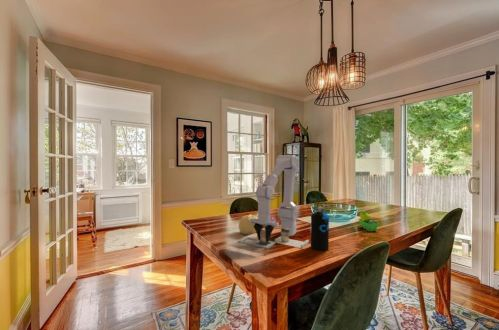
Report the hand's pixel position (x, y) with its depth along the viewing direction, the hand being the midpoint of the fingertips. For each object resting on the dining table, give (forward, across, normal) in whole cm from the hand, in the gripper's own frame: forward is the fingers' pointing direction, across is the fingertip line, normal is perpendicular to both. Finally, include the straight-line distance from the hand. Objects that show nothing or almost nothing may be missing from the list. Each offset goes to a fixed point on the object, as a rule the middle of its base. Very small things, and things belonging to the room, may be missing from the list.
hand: (263, 240), depth 112 cm
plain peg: (+2, +7, +10) cm, 12 cm away
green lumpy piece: (+3, +38, +64) cm, 74 cm away
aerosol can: (+3, +24, +9) cm, 26 cm away
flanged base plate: (+3, +10, +10) cm, 14 cm away
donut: (+4, -19, +37) cm, 42 cm away
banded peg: (+1, 0, 0) cm, 1 cm away
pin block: (+3, -4, 0) cm, 5 cm away
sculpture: (+3, -17, +15) cm, 23 cm away
